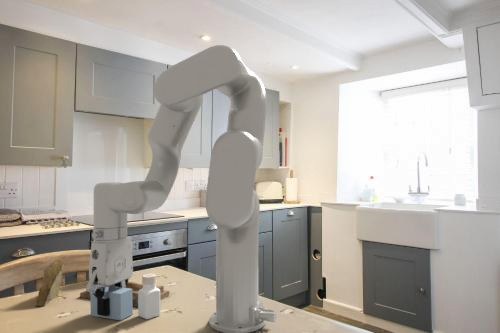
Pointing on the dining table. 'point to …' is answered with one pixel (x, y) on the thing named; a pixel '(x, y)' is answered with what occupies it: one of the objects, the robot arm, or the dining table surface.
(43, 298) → the rock
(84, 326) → the dining table surface
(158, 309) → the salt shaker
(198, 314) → the dining table surface
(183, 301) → the dining table surface
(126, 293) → the light blue block
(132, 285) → the frame
